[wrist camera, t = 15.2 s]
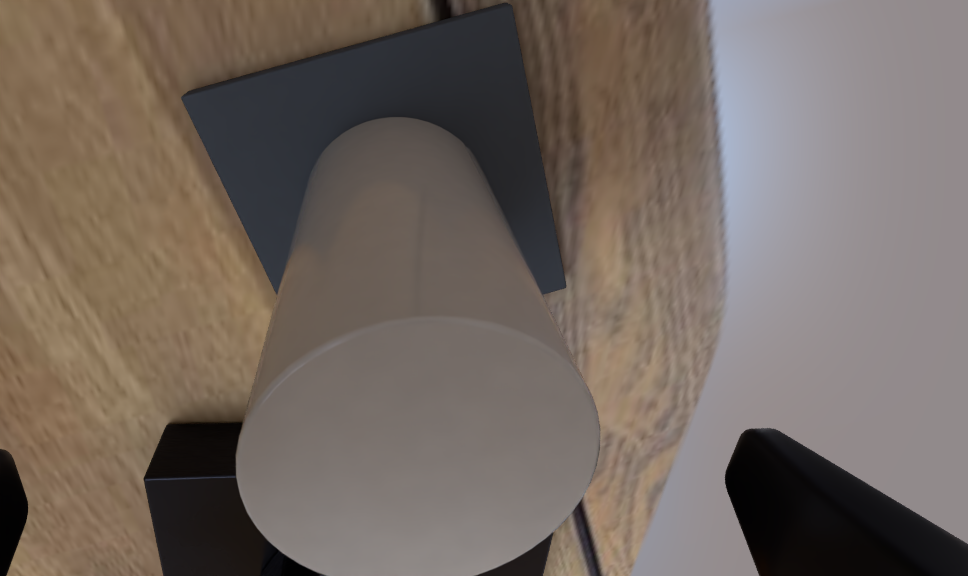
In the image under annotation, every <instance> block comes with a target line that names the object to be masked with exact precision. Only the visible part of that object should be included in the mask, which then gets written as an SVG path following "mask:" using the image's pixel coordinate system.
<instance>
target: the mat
mask: <svg viewBox="0 0 968 576" xmlns="http://www.w3.org/2000/svg"><path fill="white" fill-rule="evenodd" d="M181 99H182V101H183V103H184V105H185V107H186V109H187V111H188V113H189V115H190V117H191V120H192V122H193V124H194V126H195V128H196V130H197V132H198V134H199V136H200V138H201V140H202V142H203V144H204V146H205V148H206V150H207V152H208V154H209V156H210V159H211V161H212V163H213V165H214V167H215V169H216V171H217V173H218V175H219V177H220V179H221V181H222V183H223V185H224V187H225V189H226V191H227V193H228V195H229V198H230V200H231V202H232V204H233V206H234V208H235V210H236V212H237V214H238V216H239V218H240V220H241V222H242V224H243V226H244V228H245V230H246V232H247V234H248V237H249V239H250V241H251V243H252V245H253V247H254V249H255V251H256V253H257V255H258V257H259V259H260V261H261V263H262V265H263V267H264V269H265V271H266V273H267V276H268V278H269V280H270V282H271V284H272V286H273V288H274V290H275V292H276V294H278V290H279V286H280V282H281V279H282V275H283V271H284V268H285V264H286V260H287V256H288V253H289V249H290V245H291V242H292V238H293V234H294V230H295V227H296V223H297V219H298V216H299V212H300V208H301V204H302V201H303V197H304V193H305V190H306V186H307V182H308V179H309V176H310V173H311V171H312V169H313V167H314V165H315V163H316V161H317V159H318V158H319V156H320V155H321V154H322V152H323V151H324V150H325V149H326V148H327V147H328V145H329V144H330V143H331V142H332V141H333V140H335V139H336V138H337V137H339V136H340V135H341V134H342V133H344V132H346V131H347V130H349V129H351V128H353V127H355V126H357V125H360V124H362V123H364V122H367V121H371V120H375V119H380V118H388V117H407V118H413V119H419V120H423V121H426V122H430V123H432V124H434V125H437V126H439V127H441V128H443V129H445V130H446V131H448V132H450V133H451V134H453V135H454V136H455V137H457V138H458V139H459V140H460V141H462V142H463V143H464V144H465V145H466V146H467V147H468V149H469V150H470V151H471V152H472V153H473V155H474V156H475V158H476V159H477V161H478V162H479V164H480V166H481V168H482V170H483V172H484V174H485V176H486V178H487V180H488V182H489V184H490V186H491V188H492V190H493V193H494V195H495V197H496V199H497V201H498V203H499V205H500V207H501V209H502V211H503V213H504V215H505V217H506V219H507V221H508V223H509V226H510V228H511V230H512V232H513V234H514V236H515V238H516V240H517V242H518V244H519V246H520V248H521V250H522V252H523V254H524V256H525V259H526V261H527V263H528V265H529V267H530V269H531V271H532V273H533V275H534V277H535V279H536V281H537V283H538V285H539V287H540V289H541V292H542V294H547V293H550V292H553V291H557V290H560V289H564V288H566V281H565V276H564V271H563V266H562V261H561V256H560V250H559V245H558V240H557V235H556V230H555V225H554V219H553V214H552V209H551V204H550V199H549V194H548V189H547V183H546V178H545V173H544V168H543V163H542V158H541V152H540V147H539V142H538V137H537V132H536V127H535V121H534V116H533V111H532V106H531V101H530V96H529V91H528V85H527V80H526V75H525V70H524V65H523V60H522V54H521V49H520V44H519V39H518V34H517V29H516V23H515V18H514V13H513V8H512V5H511V4H508V3H502V4H498V5H495V6H491V7H488V8H484V9H481V10H477V11H473V12H470V13H466V14H463V15H459V16H456V17H452V18H448V19H445V20H441V21H438V22H434V23H431V24H427V25H423V26H420V27H416V28H413V29H409V30H406V31H402V32H398V33H395V34H391V35H388V36H384V37H381V38H377V39H373V40H370V41H366V42H363V43H359V44H355V45H352V46H348V47H345V48H341V49H338V50H334V51H330V52H327V53H323V54H320V55H316V56H313V57H309V58H305V59H302V60H298V61H295V62H291V63H288V64H284V65H280V66H277V67H273V68H270V69H266V70H263V71H259V72H255V73H252V74H248V75H245V76H241V77H238V78H234V79H230V80H227V81H223V82H220V83H216V84H213V85H209V86H205V87H202V88H198V89H195V90H191V91H188V92H187V93H186V94H184V95H183V96H182V97H181Z"/></svg>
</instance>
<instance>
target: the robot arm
mask: <svg viewBox="0 0 968 576" xmlns="http://www.w3.org/2000/svg"><path fill="white" fill-rule="evenodd" d="M725 484H726V488H727V492H728V494H729V497H730V499H731V502H732V505H733V508H734V510H735V513H736V515H737V518H738V520H739V523H740V526H741V529H742V531H743V534H744V536H745V539H746V541H747V545H748V547H749V550H750V552H751V555H752V558H753V560H754V563H755V565H756V568H757V571H758V573H759V576H968V544H967V543H965V542H964V541H962V540H960V539H959V538H957V537H955V536H954V535H952V534H950V533H948V532H947V531H945V530H943V529H942V528H940V527H938V526H937V525H935V524H933V523H932V522H930V521H928V520H927V519H925V518H923V517H922V516H920V515H918V514H917V513H915V512H913V511H912V510H910V509H908V508H907V507H905V506H903V505H902V504H900V503H898V502H897V501H895V500H893V499H892V498H890V497H888V496H886V495H885V494H883V493H882V492H880V491H878V490H877V489H875V488H873V487H872V486H870V485H868V484H867V483H865V482H863V481H862V480H860V479H858V478H857V477H855V476H853V475H852V474H850V473H848V472H847V471H845V470H843V469H842V468H840V467H838V466H837V465H835V464H833V463H831V462H830V461H828V460H826V459H825V458H823V457H822V456H820V455H818V454H817V453H815V452H813V451H812V450H810V449H808V448H807V447H805V446H803V445H802V444H800V443H798V442H797V441H795V440H793V439H792V438H790V437H788V436H787V435H785V434H783V433H781V432H780V431H778V430H776V429H771V428H765V429H764V428H761V429H748V430H745V431H744V432H743V433H742V434H741V436H740V438H739V440H738V442H737V445H736V447H735V450H734V453H733V455H732V457H731V460H730V462H729V464H728V467H727V470H726V474H725ZM27 515H28V501H27V497H26V494H25V491H24V488H23V485H22V482H21V479H20V476H19V474H18V471H17V468H16V465H15V462H14V459H13V457H12V455H11V454H10V453H9V452H8V451H6V450H3V449H0V576H6V575H7V573H8V570H9V567H10V564H11V562H12V559H13V556H14V553H15V551H16V548H17V545H18V543H19V540H20V537H21V534H22V532H23V529H24V526H25V523H26V520H27Z"/></svg>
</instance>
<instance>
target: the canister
mask: <svg viewBox="0 0 968 576" xmlns="http://www.w3.org/2000/svg"><path fill="white" fill-rule="evenodd" d="M599 450H600V424H599V418H598V412H597V409H596V406H595V403H594V400H593V397H592V395H591V393H590V391H589V389H588V386H587V384H586V382H585V380H584V378H583V376H582V374H581V372H580V370H579V368H578V366H577V364H576V362H575V360H574V358H573V356H572V353H571V351H570V349H569V347H568V345H567V343H566V341H565V339H564V337H563V335H562V333H561V331H560V329H559V327H558V325H557V322H556V320H555V318H554V316H553V314H552V312H551V310H550V308H549V306H548V304H547V302H546V300H545V298H544V296H543V294H542V292H541V289H540V287H539V285H538V283H537V281H536V279H535V277H534V275H533V273H532V271H531V269H530V267H529V265H528V263H527V261H526V259H525V256H524V254H523V252H522V250H521V248H520V246H519V244H518V242H517V240H516V238H515V236H514V234H513V232H512V230H511V228H510V226H509V223H508V221H507V219H506V217H505V215H504V213H503V211H502V209H501V207H500V205H499V203H498V201H497V199H496V197H495V195H494V193H493V190H492V188H491V186H490V184H489V182H488V180H487V178H486V176H485V174H484V172H483V170H482V168H481V166H480V164H479V162H478V161H477V159H476V158H475V156H474V155H473V153H472V152H471V151H470V150H469V149H468V147H467V146H466V145H465V144H464V143H463V142H462V141H460V140H459V139H458V138H457V137H455V136H454V135H453V134H451V133H450V132H448V131H446V130H445V129H443V128H441V127H439V126H437V125H434V124H432V123H430V122H426V121H423V120H419V119H413V118H407V117H388V118H380V119H375V120H371V121H367V122H364V123H362V124H360V125H357V126H355V127H353V128H351V129H349V130H347V131H346V132H344V133H342V134H341V135H340V136H339V137H337V138H336V139H335V140H333V141H332V142H331V143H330V144H329V145H328V147H327V148H326V149H325V150H324V151H323V152H322V154H321V155H320V156H319V158H318V159H317V161H316V163H315V165H314V167H313V169H312V171H311V173H310V176H309V179H308V182H307V186H306V190H305V193H304V197H303V201H302V204H301V208H300V212H299V216H298V219H297V223H296V227H295V230H294V234H293V238H292V242H291V245H290V249H289V253H288V256H287V260H286V264H285V268H284V271H283V275H282V279H281V282H280V286H279V290H278V294H277V297H276V301H275V305H274V308H273V312H272V316H271V320H270V323H269V327H268V331H267V334H266V338H265V342H264V346H263V349H262V353H261V357H260V360H259V364H258V368H257V372H256V375H255V379H254V383H253V386H252V390H251V394H250V398H249V401H248V405H247V409H246V412H245V416H244V420H243V424H242V427H241V431H240V435H239V439H238V445H237V450H236V456H235V457H236V479H237V484H238V489H239V493H240V496H241V498H242V501H243V503H244V506H245V508H246V511H247V513H248V515H249V516H250V518H251V519H252V521H253V523H254V524H255V526H256V527H257V529H258V530H259V531H260V532H261V533H262V534H263V535H264V537H265V538H266V539H267V540H268V541H269V542H270V543H271V544H272V545H274V546H275V547H276V548H277V549H278V550H279V551H281V552H282V553H283V554H285V555H286V556H288V557H289V558H291V559H292V560H294V561H295V562H297V563H298V564H300V565H303V566H305V567H307V568H309V569H311V570H313V571H315V572H317V573H320V574H323V575H326V576H476V575H479V574H481V573H484V572H487V571H489V570H492V569H495V568H497V567H499V566H501V565H503V564H505V563H507V562H510V561H512V560H514V559H515V558H517V557H519V556H521V555H522V554H524V553H526V552H527V551H529V550H531V549H532V548H533V547H535V546H536V545H538V544H539V543H540V542H542V541H543V540H544V539H546V538H547V537H548V536H549V535H550V534H551V533H553V532H554V531H555V530H556V529H557V528H558V527H559V526H560V525H561V524H562V523H563V522H564V521H565V520H566V519H567V518H568V516H569V515H570V514H571V513H572V512H573V510H574V509H575V508H576V506H577V505H578V503H579V502H580V501H581V499H582V498H583V496H584V494H585V492H586V490H587V488H588V486H589V484H590V483H591V480H592V477H593V474H594V472H595V469H596V466H597V461H598V455H599Z"/></svg>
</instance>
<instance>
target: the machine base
mask: <svg viewBox="0 0 968 576" xmlns="http://www.w3.org/2000/svg"><path fill="white" fill-rule="evenodd" d="M242 424H243V423H211V424H168V425H166V427H165V429H164V432H163V434H162V437H161V439H160V441H159V444H158V446H157V448H156V451H155V453H154V455H153V458H152V460H151V462H150V465H149V467H148V469H147V472H146V474H145V476H144V483H145V488H146V493H147V498H148V503H149V508H150V513H151V518H152V522H153V527H154V532H155V537H156V542H157V547H158V552H159V557H160V562H161V566H162V571H163V576H326V575H323V574H320V573H317V572H315V571H313V570H311V569H309V568H307V567H305V566H303V565H300V564H298V563H297V562H295V561H294V560H292V559H291V558H289V557H288V556H286V555H285V554H283V553H282V552H281V551H279V550H278V549H277V548H276V547H275V546H274V545H272V544H271V543H270V542H269V541H268V540H267V539H266V538H265V537H264V535H263V534H262V533H261V532H260V531H259V530H258V529H257V527H256V526H255V524H254V523H253V521H252V519H251V518H250V516H249V515H248V513H247V511H246V508H245V506H244V503H243V501H242V498H241V496H240V493H239V489H238V484H237V479H236V457H235V456H236V450H237V445H238V439H239V435H240V431H241V427H242ZM552 536H553V533H551V534H550V535H549V536H548V537H547V538H546V539H544V540H543V541H542V542H540V543H539V544H538V545H536V546H535V547H533V548H532V549H531V550H529V551H527V552H526V553H524V554H522V555H521V556H519V557H517V558H515V559H514V560H512V561H510V562H507V563H505V564H503V565H501V566H499V567H497V568H495V569H492V570H489V571H487V572H484V573H481V574H479V575H476V576H543V573H544V569H545V565H546V561H547V557H548V552H549V548H550V544H551V540H552Z"/></svg>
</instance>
